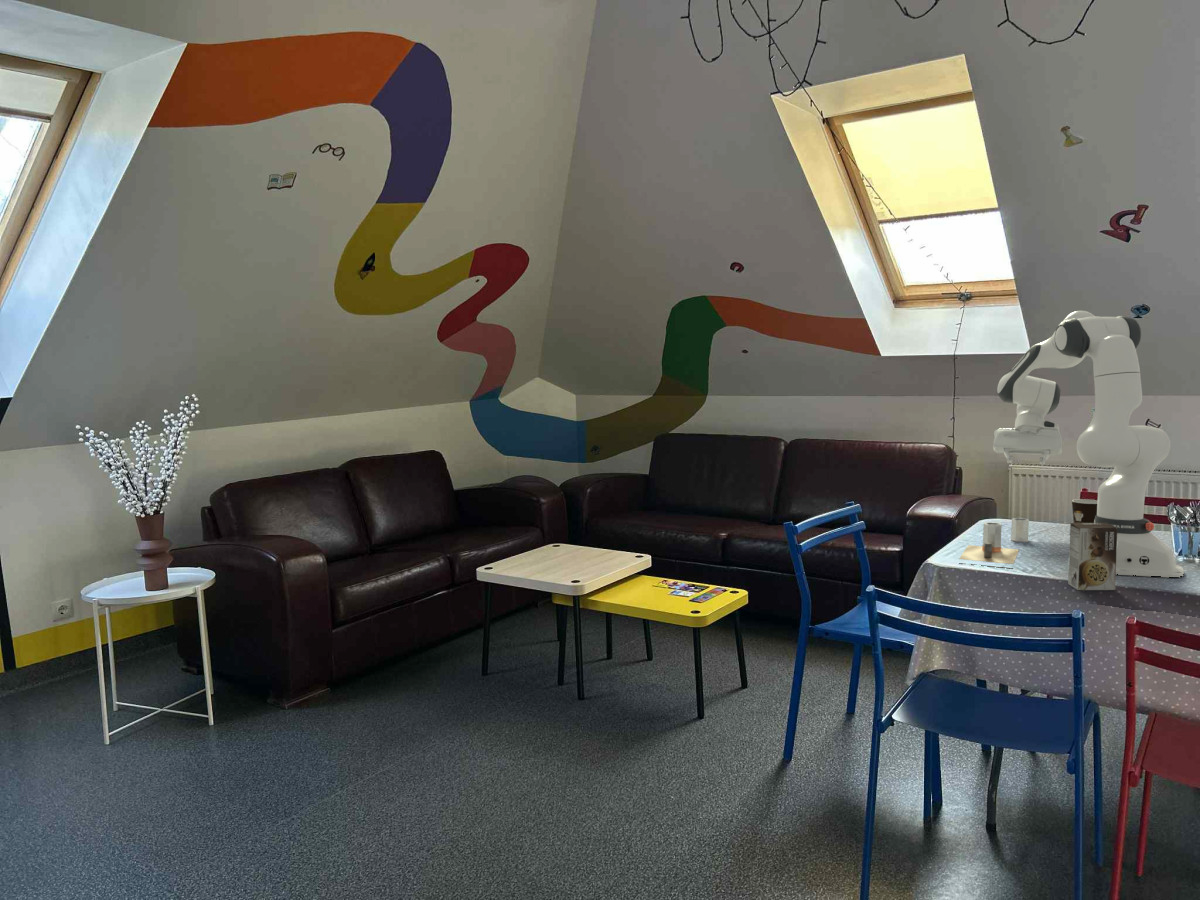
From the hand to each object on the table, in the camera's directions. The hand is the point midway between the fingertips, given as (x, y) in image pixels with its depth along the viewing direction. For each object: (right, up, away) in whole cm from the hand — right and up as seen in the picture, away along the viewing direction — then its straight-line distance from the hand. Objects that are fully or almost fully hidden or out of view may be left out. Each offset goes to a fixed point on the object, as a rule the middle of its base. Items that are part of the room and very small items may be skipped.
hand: (1025, 462), depth 288 cm
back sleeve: (-20, -25, -23) cm, 40 cm away
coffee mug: (+24, -23, +9) cm, 35 cm away
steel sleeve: (-6, -25, -9) cm, 27 cm away
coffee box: (-11, -31, -58) cm, 67 cm away
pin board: (-23, -27, -27) cm, 45 cm away
